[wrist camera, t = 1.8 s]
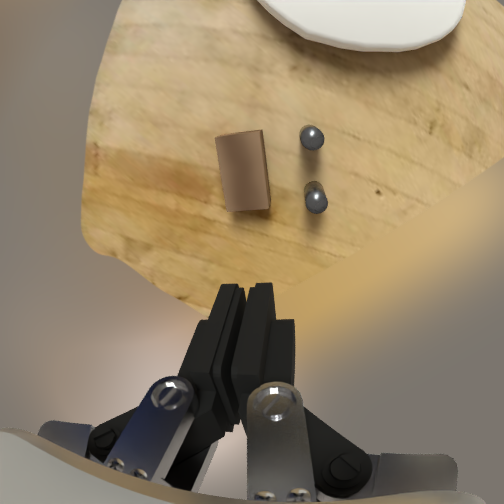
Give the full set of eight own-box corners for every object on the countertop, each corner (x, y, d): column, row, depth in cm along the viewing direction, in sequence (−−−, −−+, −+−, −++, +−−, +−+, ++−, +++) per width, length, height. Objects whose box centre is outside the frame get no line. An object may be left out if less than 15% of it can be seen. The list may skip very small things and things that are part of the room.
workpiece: (262, 129, 33) (259, 131, 29) (270, 199, 37) (268, 208, 34) (222, 134, 33) (214, 137, 30) (232, 202, 38) (226, 212, 34)
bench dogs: (318, 124, 31) (323, 127, 27) (323, 199, 35) (328, 213, 31) (298, 125, 31) (299, 128, 27) (304, 199, 36) (306, 214, 31)
